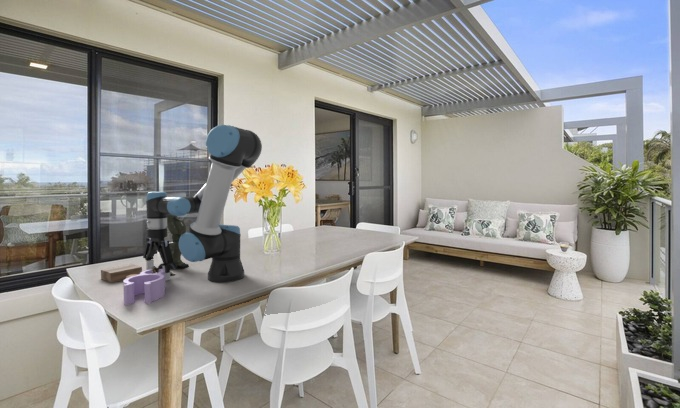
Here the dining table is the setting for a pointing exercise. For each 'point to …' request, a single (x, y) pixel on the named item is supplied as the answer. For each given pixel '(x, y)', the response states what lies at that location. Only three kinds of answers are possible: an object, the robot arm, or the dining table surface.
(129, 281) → the clip
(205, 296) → the dining table surface
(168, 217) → the mechanical leg
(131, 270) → the plinth
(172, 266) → the eagle figurine
